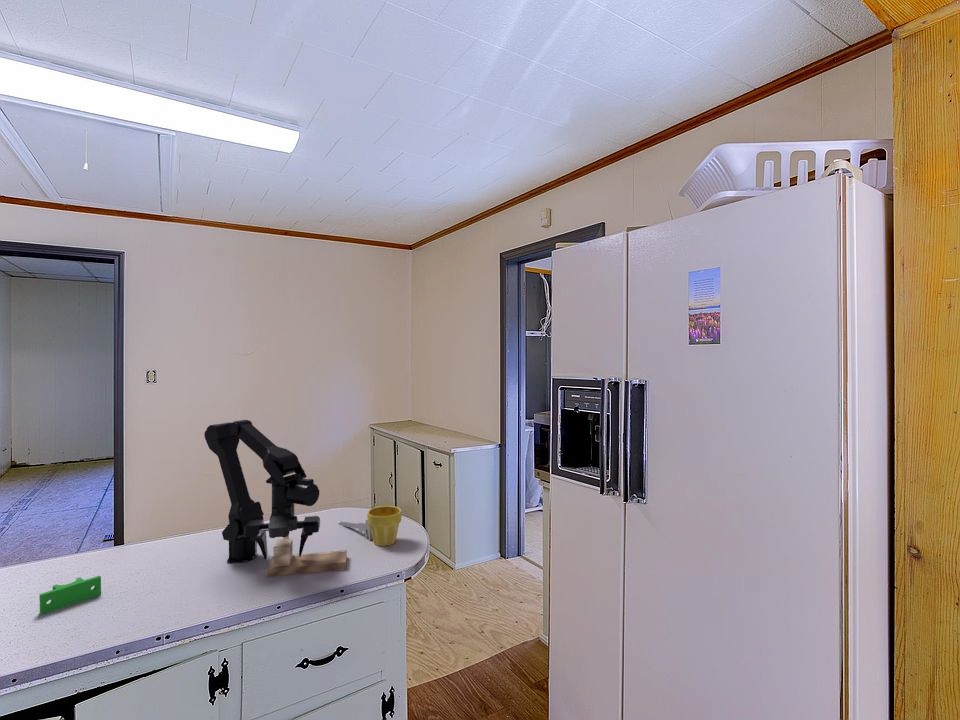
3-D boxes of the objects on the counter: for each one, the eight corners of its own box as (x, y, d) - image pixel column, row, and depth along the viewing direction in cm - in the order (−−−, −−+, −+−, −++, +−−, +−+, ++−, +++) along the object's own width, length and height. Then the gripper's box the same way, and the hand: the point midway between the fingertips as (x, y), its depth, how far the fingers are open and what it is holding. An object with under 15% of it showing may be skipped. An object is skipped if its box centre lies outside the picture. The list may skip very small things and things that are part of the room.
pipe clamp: (95, 591, 122) (95, 572, 122) (101, 595, 120) (101, 576, 120) (35, 610, 113) (35, 590, 113) (41, 615, 111) (40, 594, 111)
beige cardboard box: (273, 566, 131) (273, 548, 131) (279, 553, 140) (278, 535, 140) (289, 565, 132) (289, 546, 132) (294, 551, 141) (294, 534, 141)
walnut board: (266, 576, 130) (266, 568, 130) (272, 563, 138) (272, 556, 138) (345, 569, 134) (345, 561, 134) (346, 557, 142) (346, 550, 142)
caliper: (372, 540, 155) (372, 521, 155) (369, 541, 154) (369, 521, 154) (341, 523, 170) (341, 505, 170) (338, 524, 169) (338, 506, 169)
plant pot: (370, 551, 147) (370, 518, 146) (364, 538, 156) (364, 507, 156) (404, 546, 151) (404, 514, 150) (397, 534, 160) (397, 504, 160)
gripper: (238, 512, 124) (238, 574, 124) (316, 507, 128) (316, 567, 129) (248, 499, 135) (248, 556, 135) (320, 495, 139) (320, 550, 140)
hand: (283, 557), depth 134 cm, fingers open, 8 cm apart
